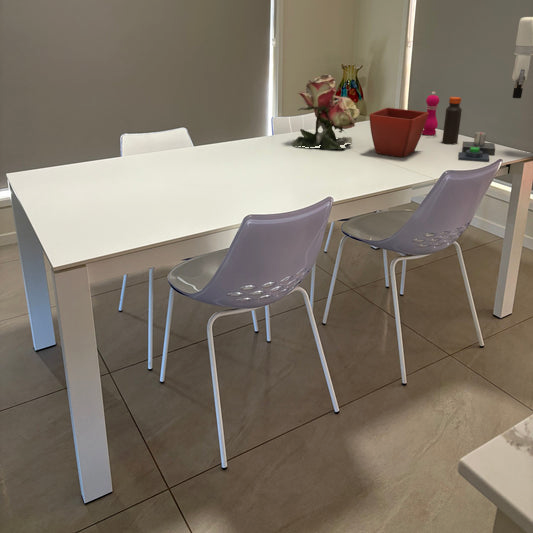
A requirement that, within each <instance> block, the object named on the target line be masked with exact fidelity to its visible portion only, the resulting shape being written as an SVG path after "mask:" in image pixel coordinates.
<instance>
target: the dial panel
mask: <svg viewBox="0 0 533 533" xmlns="http://www.w3.org/2000/svg"><path fill="white" fill-rule="evenodd" d="M471 147H477V148H479V150H480V151H483V154H489V156H495V153H496V144H495V142H485V144H484V146H476V145H474V141H462V147H461V152H465V153H466V150H470V148H471Z"/></svg>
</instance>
